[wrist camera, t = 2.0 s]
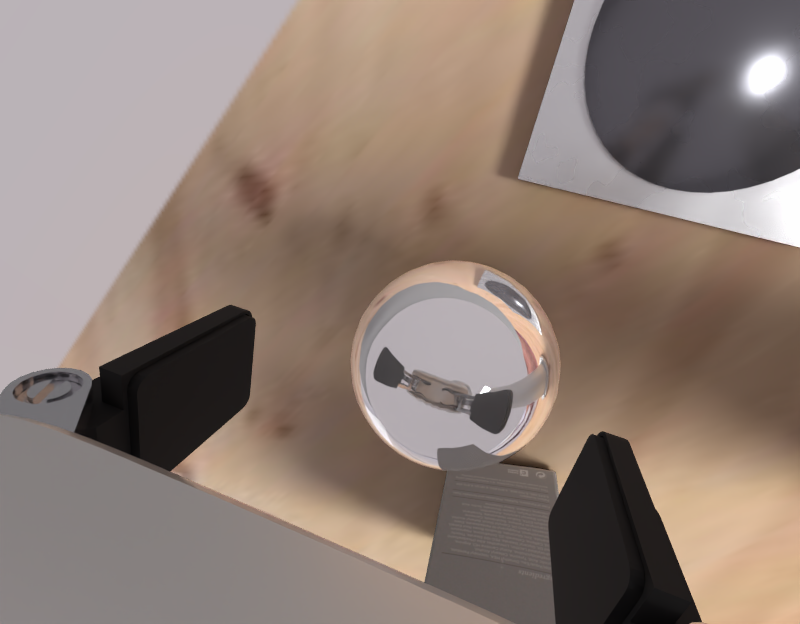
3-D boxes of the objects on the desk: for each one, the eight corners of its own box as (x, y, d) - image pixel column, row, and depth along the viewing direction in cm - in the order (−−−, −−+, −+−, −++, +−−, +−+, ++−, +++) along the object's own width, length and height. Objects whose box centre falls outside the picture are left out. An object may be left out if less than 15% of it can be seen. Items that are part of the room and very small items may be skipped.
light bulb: (425, 219, 21) (310, 271, 10) (565, 238, 19) (604, 326, 8) (412, 339, 24) (308, 483, 13) (535, 365, 22) (535, 559, 11)
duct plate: (1050, -139, 12) (1106, -173, 11) (805, 248, 17) (826, 254, 15) (628, -167, 14) (636, -196, 13) (518, 178, 19) (517, 178, 18)
